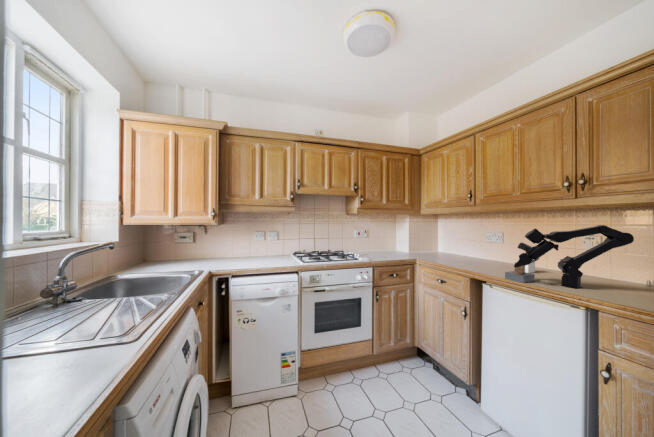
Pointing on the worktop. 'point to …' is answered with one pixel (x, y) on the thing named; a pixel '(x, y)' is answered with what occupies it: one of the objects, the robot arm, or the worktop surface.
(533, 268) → the medicine bottle
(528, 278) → the well block
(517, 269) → the brown tall square block
